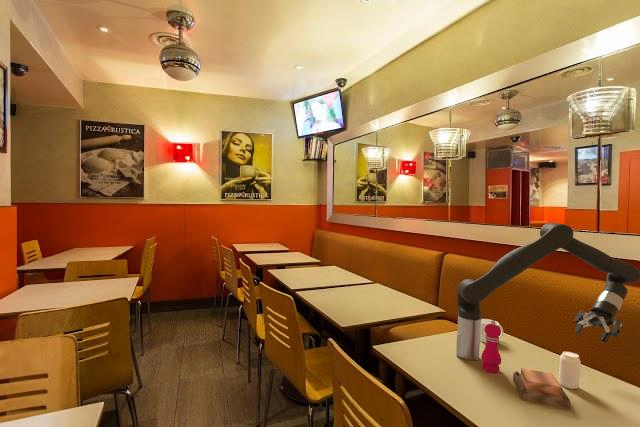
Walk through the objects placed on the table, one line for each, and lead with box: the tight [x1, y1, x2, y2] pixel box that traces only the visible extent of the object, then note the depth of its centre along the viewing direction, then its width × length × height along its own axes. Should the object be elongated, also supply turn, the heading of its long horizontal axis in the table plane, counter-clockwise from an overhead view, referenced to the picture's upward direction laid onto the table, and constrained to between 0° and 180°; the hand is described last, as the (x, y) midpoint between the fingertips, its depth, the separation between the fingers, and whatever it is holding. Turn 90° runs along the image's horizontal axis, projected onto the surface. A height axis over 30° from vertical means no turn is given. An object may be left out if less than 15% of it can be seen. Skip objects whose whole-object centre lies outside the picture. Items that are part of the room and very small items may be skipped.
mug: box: [480, 318, 504, 344], centre depth 169 cm, size 12×9×9 cm
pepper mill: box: [480, 319, 502, 374], centre depth 138 cm, size 7×7×20 cm
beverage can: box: [558, 351, 582, 390], centre depth 128 cm, size 6×6×12 cm
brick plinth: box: [512, 367, 571, 410], centre depth 121 cm, size 14×14×6 cm
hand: (589, 337), depth 132 cm, fingers open, 8 cm apart
